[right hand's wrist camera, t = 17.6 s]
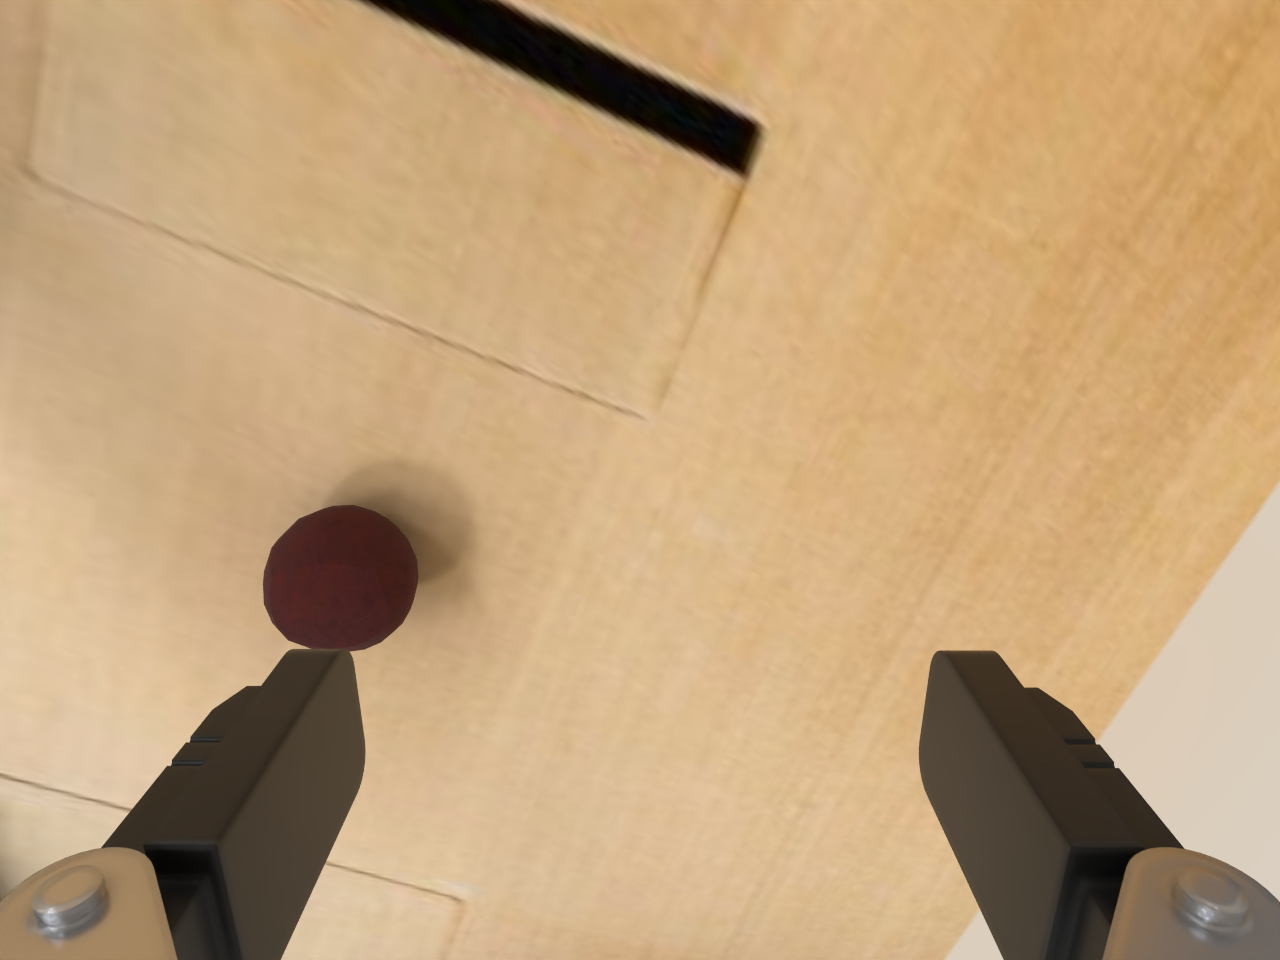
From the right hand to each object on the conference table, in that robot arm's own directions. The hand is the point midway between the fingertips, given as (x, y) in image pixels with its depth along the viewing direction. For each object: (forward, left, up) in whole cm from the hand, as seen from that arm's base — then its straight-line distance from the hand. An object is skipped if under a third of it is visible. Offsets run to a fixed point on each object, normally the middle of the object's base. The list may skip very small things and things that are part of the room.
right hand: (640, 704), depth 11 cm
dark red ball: (+12, -15, -32) cm, 38 cm away
